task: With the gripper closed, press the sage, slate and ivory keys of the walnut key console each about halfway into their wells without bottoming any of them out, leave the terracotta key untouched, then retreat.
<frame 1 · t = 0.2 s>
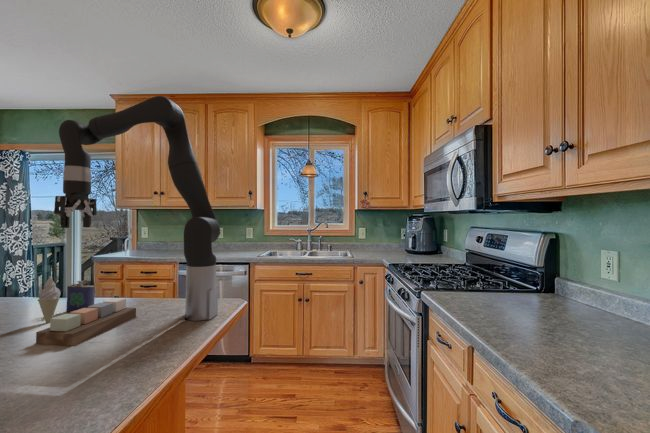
hand: (76, 227, 106), 29 cm above the counter, fingers open, 8 cm apart
console: (92, 332, 87), on the counter
key b slate: (100, 309, 90), point 6 cm above the counter, slide at 0.0 cm
key a ivory: (114, 304, 95), point 6 cm above the counter, slide at 0.0 cm
key d sage: (65, 322, 79), point 6 cm above the counter, slide at 0.0 cm
key c terracotta: (84, 315, 84), point 6 cm above the counter, slide at 0.0 cm
flask: (79, 312, 106), on the counter
ice cream cone: (48, 326, 92), on the counter
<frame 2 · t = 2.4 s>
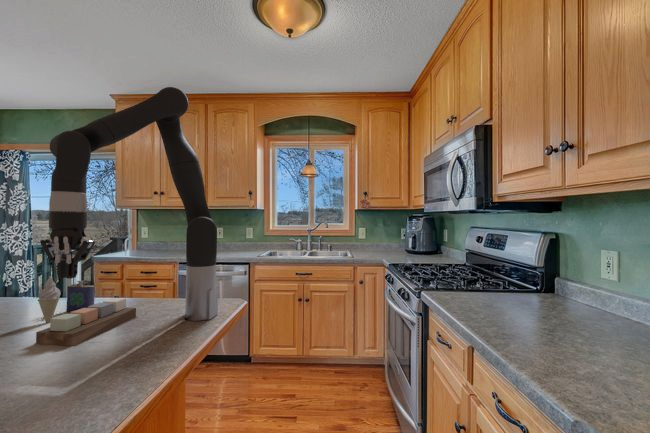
hand: (66, 277, 79), 17 cm above the counter, fingers closed
nothing on the counter moved.
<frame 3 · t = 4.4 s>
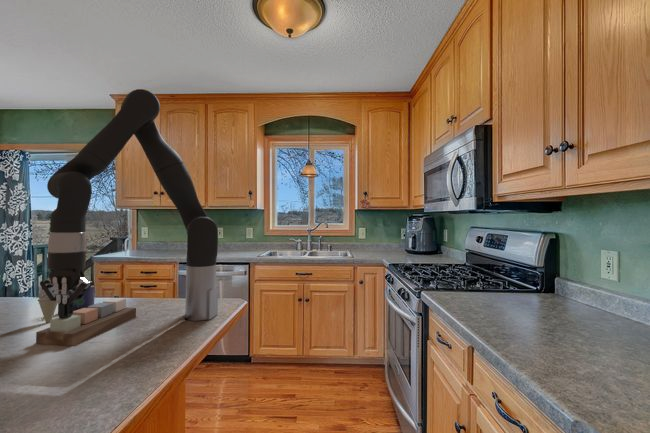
hand: (65, 317, 79), 7 cm above the counter, fingers closed
key d sage: (65, 323, 79), point 5 cm above the counter, slide at 0.3 cm, touching gripper
everything else where it was.
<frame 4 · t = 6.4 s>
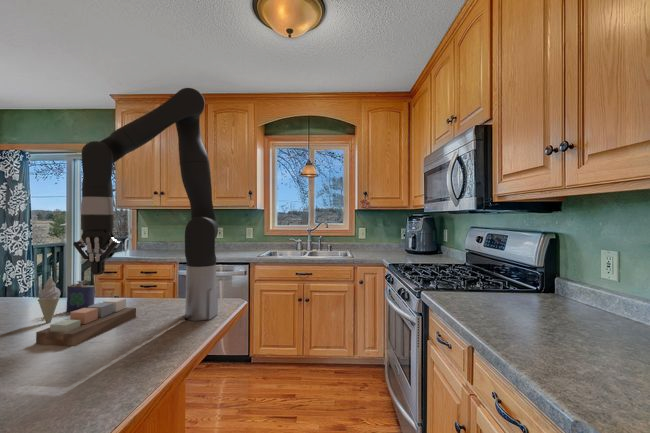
hand: (97, 274, 88), 16 cm above the counter, fingers closed
key d sage: (65, 328, 79), point 4 cm above the counter, slide at 1.5 cm
everything else where it was.
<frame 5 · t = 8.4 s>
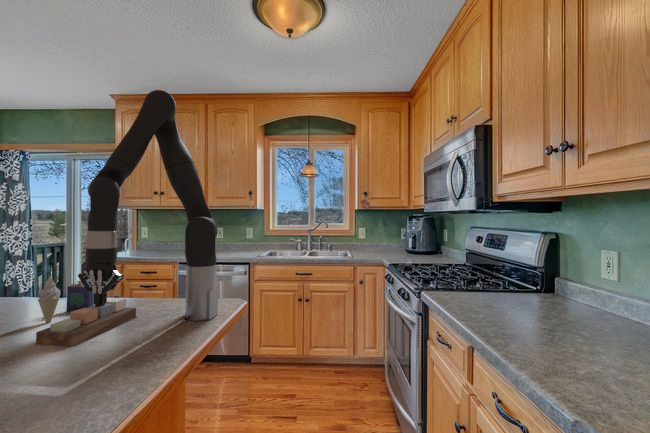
hand: (100, 305, 90), 7 cm above the counter, fingers closed
key b slate: (100, 311, 90), point 5 cm above the counter, slide at 0.3 cm, touching gripper
everything else where it was.
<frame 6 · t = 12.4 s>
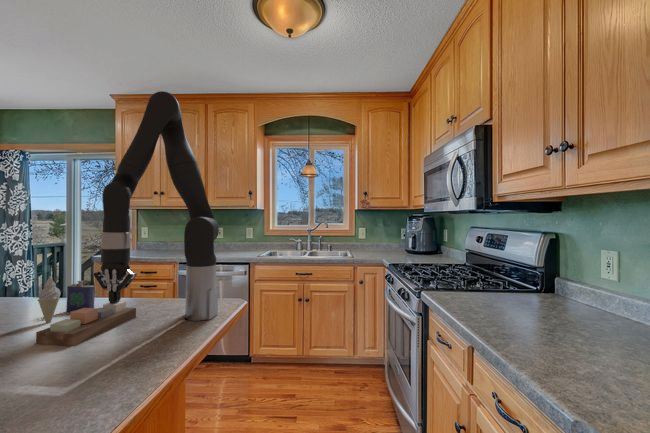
hand: (114, 302, 96), 6 cm above the counter, fingers closed
key b slate: (100, 315, 90), point 4 cm above the counter, slide at 1.5 cm
key a ivory: (114, 307, 95), point 5 cm above the counter, slide at 0.9 cm, touching gripper
everything else where it was.
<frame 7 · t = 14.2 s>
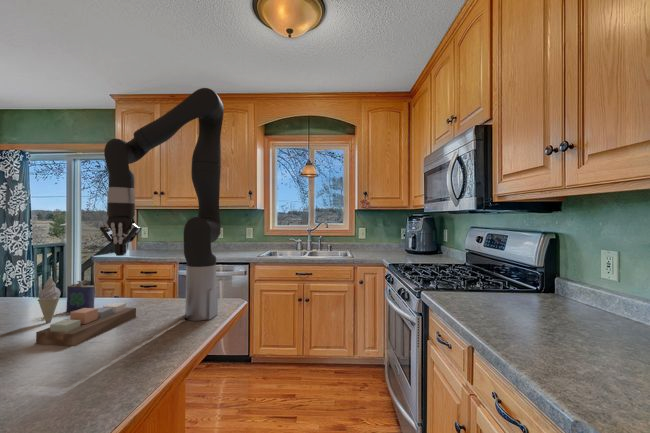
hand: (120, 255, 100), 20 cm above the counter, fingers closed
key a ivory: (114, 309, 95), point 4 cm above the counter, slide at 1.5 cm
everything else where it was.
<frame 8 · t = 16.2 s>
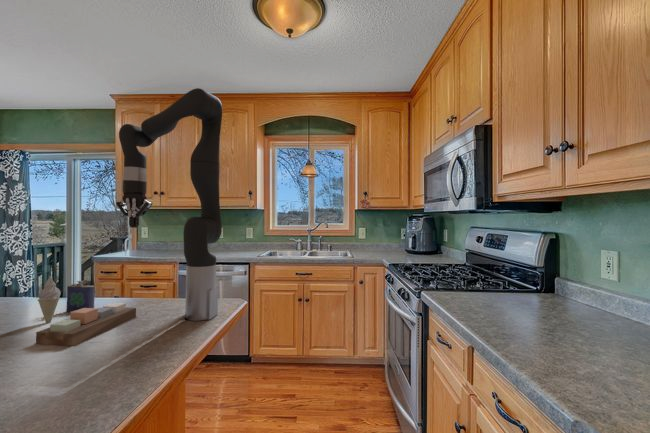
hand: (133, 227, 113), 29 cm above the counter, fingers closed
nothing on the counter moved.
at the end: key d sage slide at 1.5 cm; key b slate slide at 1.5 cm; key a ivory slide at 1.5 cm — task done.
